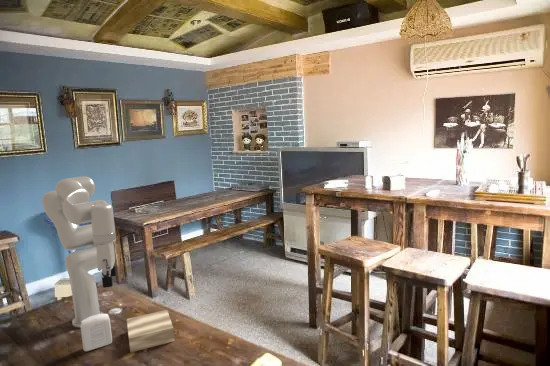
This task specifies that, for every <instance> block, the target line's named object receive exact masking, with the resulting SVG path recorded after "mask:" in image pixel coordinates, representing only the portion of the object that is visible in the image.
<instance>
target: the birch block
mask: <svg viewBox="0 0 550 366" xmlns="http://www.w3.org/2000/svg"><path fill="white" fill-rule="evenodd" d="M172 323H173V322H172V320H171V317H170V314H169V311H168V309H164V310H159V311H156V312H151V313H147V314H146V313H145V314H142V315H137V316H134V317H130V318H129V317H128V318H127V319H126V325H127V335H128V342H129V343H128V345H129V351H130V353H134V352H138V351H143V350H146V349H149V348H153V347H154V348H155V347H158V346H161V345H165V344H168V343H172V342H175V334H174V332H175V331H174V326H173V324H172Z"/></svg>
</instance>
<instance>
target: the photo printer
mask: <svg viewBox="0 0 550 366" xmlns="http://www.w3.org/2000/svg"><path fill="white" fill-rule="evenodd" d="M80 333H81V340H82V341H81V343H82V349H83V351H84V352H90V351H92V350H95V349H100V348H101V347H106V346H109V345H110V344H112V342H113V336H112V327H111V319H110V316H109V314H108V313H104V314H98V315H94V316H91V317H88V318H86V319H84V320H83V321H81V327H80Z"/></svg>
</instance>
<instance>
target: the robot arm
mask: <svg viewBox="0 0 550 366" xmlns="http://www.w3.org/2000/svg"><path fill="white" fill-rule="evenodd" d="M95 191H96V185H95V182H94V180H93V179H92V177H89V176H86V175H85V176H84V175H83V176H76V177H74V176H73V177H69V178H68V177H67V178H63V179H61V180H59V181H58V182H57V183H56V185H55V190H50V191H47V192H46V193H44V194H43V196H42V197H41V202H42V203H41V204H42V207H43V211H44V212H45V214H46V216H47V217H48V218H49V219H50V220H51V222H52V223H53V226H55V227H54V228H55V230H56V233H57V235H58V238H59V241H60V243H61V245H62V248H63V249H65V251H69V252H70V251H72V252H70V253H69V254H67V255H66V257H65V259H64V265H65V268H66V271H67V275H68V278H69V281H70V288H71V289H70V290H71V296H72V302H73V309H74V310H73V311H74V316H75V317H74V318H72V320H71V322H72V323H71V324H72V326H73V327H74V328H81V321H83V320H84V319H86V318H88V317H91V316H94V315H98V314H105V313H104V312H103V311H100V304H99V296H98V291H97V290H98V289H97V281H96V278H95V277H94V276H93V275H92V274H90V273H89V272H90V271H92V270H96V269H97V271H99V272H100V271H101V282H102V288H103V289H104V288H112V287H113V283H114V282H113V277H116V276H117V272H116V266H115V263H116V254H115V244H114V243H115V242H116V241H117V236H116V226H115V225H116V224H115V217H114V208H113V205H111V204H110V203H108V202H107V201H106V200H103V199H96V200H92V201H90V199H91V198H92V196H93V195H95V194H94V193H95ZM86 223H90V224H86ZM82 224H84V225H82Z"/></svg>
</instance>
